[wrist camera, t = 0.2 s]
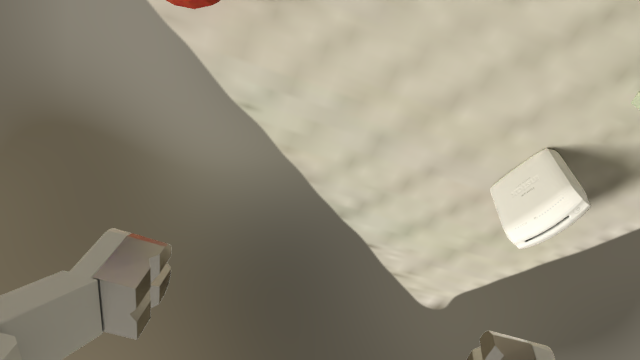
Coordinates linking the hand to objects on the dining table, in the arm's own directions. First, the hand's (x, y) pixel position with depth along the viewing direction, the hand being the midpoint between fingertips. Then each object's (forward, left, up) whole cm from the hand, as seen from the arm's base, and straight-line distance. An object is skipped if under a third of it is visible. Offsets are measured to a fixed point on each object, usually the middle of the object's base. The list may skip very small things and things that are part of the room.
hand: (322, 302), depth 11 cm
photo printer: (+18, +26, -48) cm, 57 cm away
